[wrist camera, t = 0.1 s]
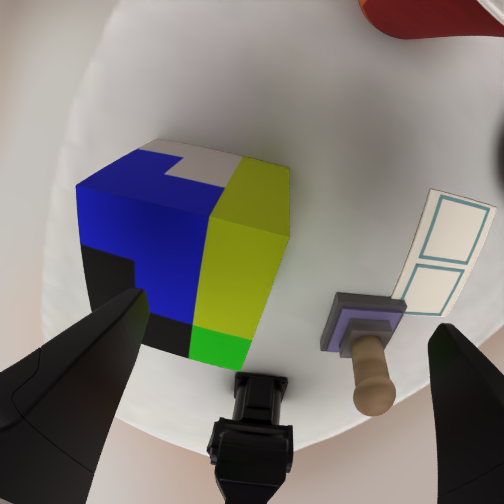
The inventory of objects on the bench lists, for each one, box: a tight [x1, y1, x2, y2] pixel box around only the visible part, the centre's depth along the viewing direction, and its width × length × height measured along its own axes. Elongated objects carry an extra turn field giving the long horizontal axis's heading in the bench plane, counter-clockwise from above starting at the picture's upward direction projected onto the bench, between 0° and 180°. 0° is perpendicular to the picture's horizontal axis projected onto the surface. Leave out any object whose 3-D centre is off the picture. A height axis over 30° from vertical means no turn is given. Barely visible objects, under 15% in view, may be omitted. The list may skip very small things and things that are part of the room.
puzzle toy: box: [76, 139, 289, 371], centre depth 19 cm, size 10×10×10 cm
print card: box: [391, 189, 497, 317], centre depth 22 cm, size 13×8×1 cm, turn 176°
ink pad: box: [320, 293, 407, 352], centre depth 27 cm, size 7×7×2 cm
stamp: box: [339, 318, 396, 416], centre depth 22 cm, size 4×4×9 cm
